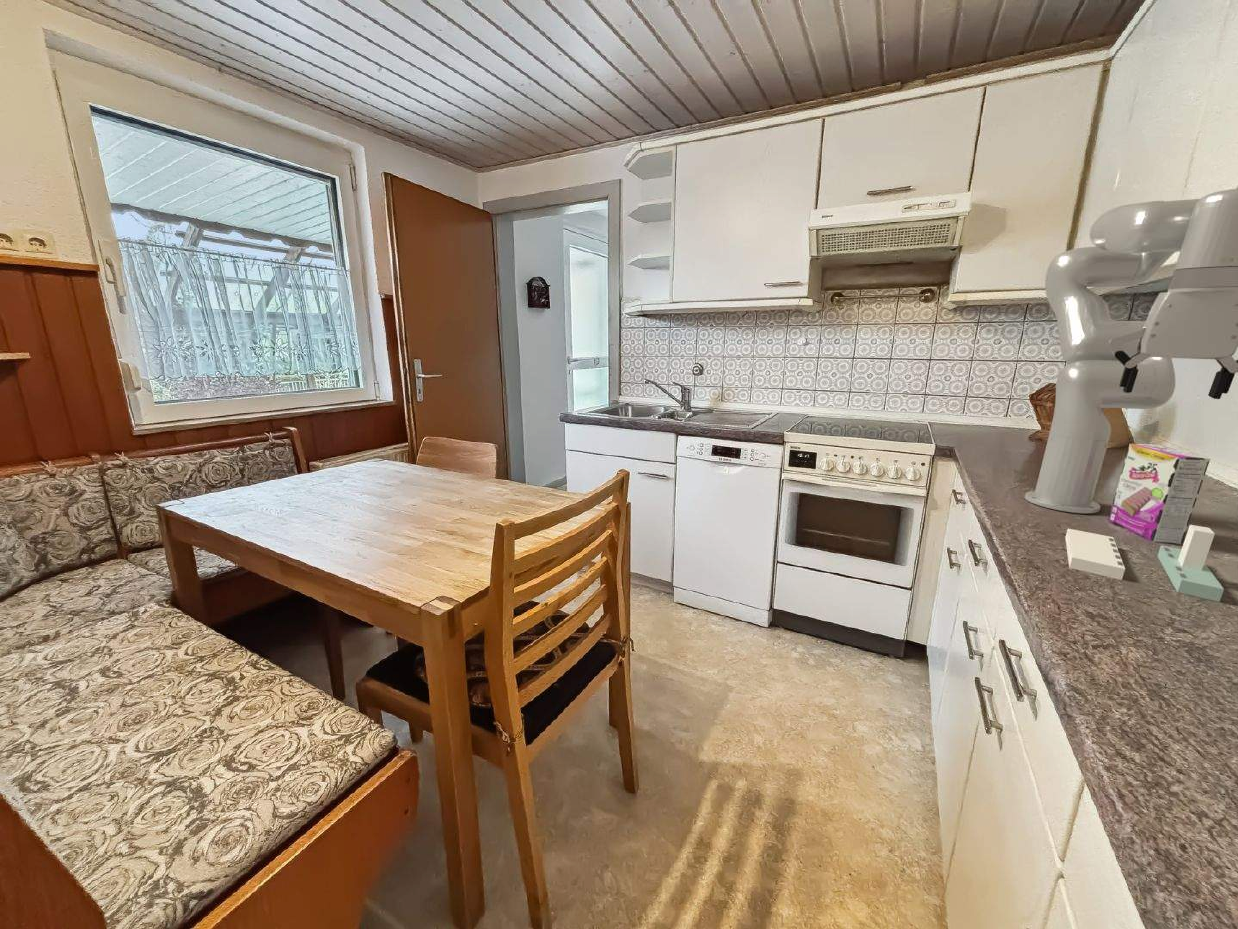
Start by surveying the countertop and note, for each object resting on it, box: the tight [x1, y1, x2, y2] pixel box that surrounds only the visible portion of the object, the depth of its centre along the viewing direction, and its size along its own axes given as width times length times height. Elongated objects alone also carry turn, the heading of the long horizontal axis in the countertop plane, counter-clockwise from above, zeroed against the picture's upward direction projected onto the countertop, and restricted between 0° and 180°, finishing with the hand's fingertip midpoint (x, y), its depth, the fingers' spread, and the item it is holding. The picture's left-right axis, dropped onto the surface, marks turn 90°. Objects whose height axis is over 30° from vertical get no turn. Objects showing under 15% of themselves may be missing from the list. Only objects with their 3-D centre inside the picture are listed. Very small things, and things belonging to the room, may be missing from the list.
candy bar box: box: [1107, 442, 1211, 545], centre depth 91 cm, size 11×5×16 cm, turn 168°
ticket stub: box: [1157, 524, 1225, 603], centre depth 75 cm, size 16×4×8 cm, turn 140°
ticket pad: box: [1065, 528, 1126, 581], centre depth 82 cm, size 16×6×2 cm, turn 140°
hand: (1168, 394), depth 78 cm, fingers open, 9 cm apart
